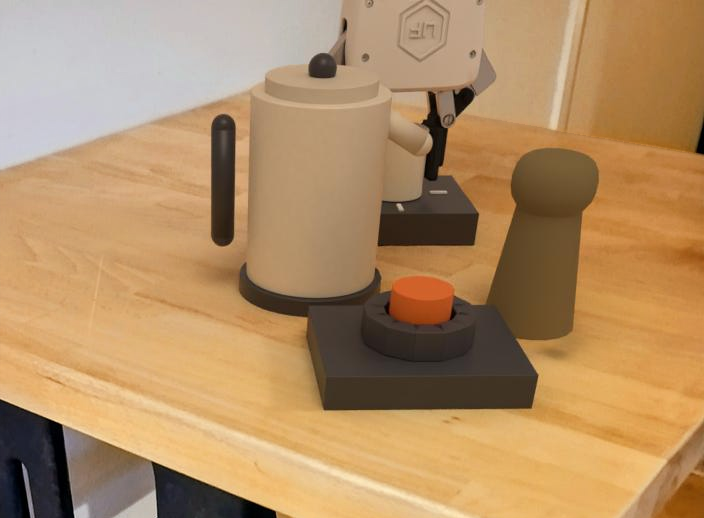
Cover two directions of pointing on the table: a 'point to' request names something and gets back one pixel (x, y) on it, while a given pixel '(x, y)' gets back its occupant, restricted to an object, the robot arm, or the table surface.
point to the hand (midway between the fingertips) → (393, 175)
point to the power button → (421, 300)
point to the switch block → (417, 359)
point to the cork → (543, 243)
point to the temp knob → (403, 173)
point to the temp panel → (430, 217)
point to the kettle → (310, 184)
